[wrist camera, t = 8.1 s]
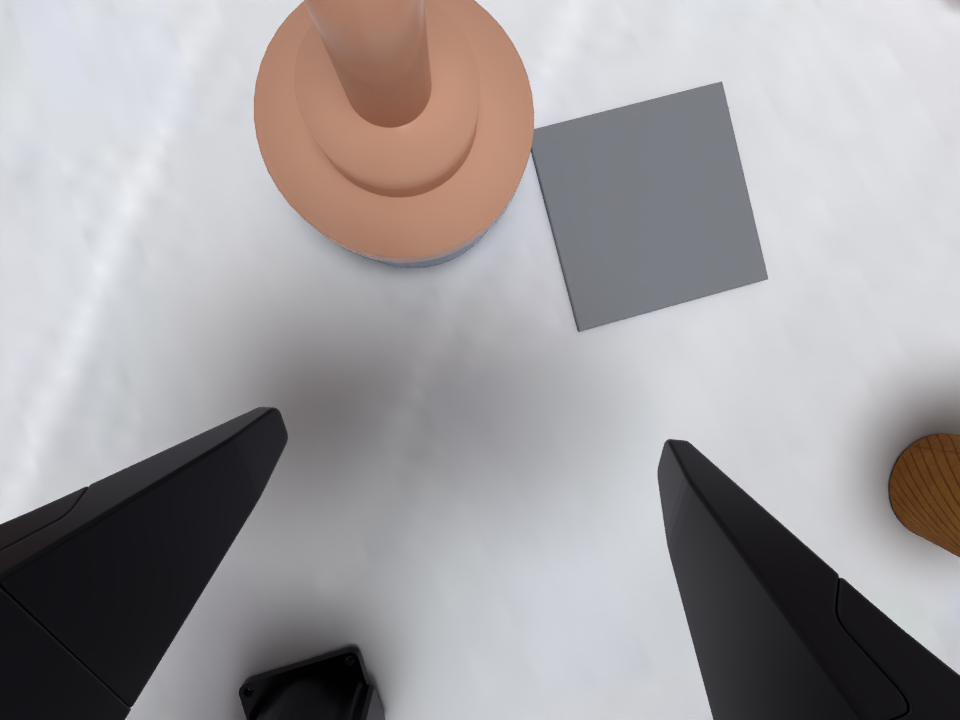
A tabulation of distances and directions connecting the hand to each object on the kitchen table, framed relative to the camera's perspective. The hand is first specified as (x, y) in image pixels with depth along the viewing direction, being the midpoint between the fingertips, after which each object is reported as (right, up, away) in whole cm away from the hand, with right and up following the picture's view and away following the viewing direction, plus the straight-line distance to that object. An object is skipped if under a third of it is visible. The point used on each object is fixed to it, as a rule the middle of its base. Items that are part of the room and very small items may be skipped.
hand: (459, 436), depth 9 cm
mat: (+10, +10, +13) cm, 19 cm away
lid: (-3, +11, +8) cm, 15 cm away
